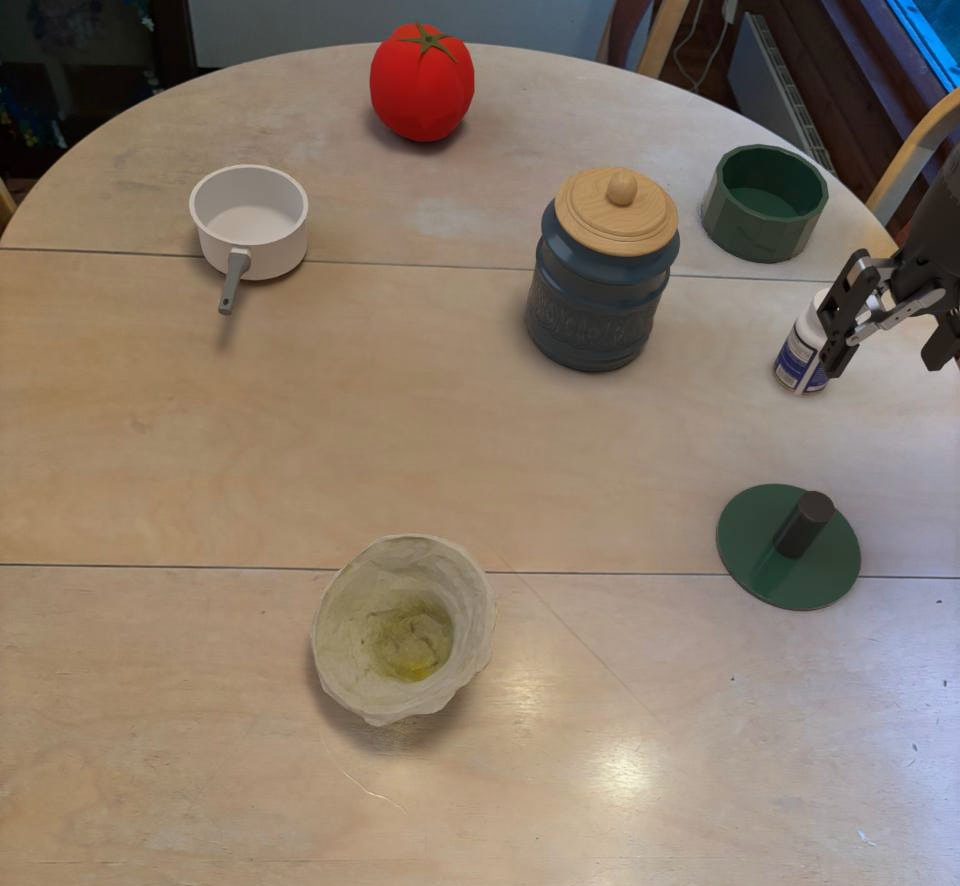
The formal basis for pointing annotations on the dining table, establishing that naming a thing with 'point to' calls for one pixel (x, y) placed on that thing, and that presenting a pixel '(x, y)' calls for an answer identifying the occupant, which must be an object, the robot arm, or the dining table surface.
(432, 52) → the tomato
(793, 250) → the pot
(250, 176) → the saucepan
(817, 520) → the lid
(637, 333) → the canister
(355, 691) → the bowl
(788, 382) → the pill bottle
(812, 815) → the dining table surface
